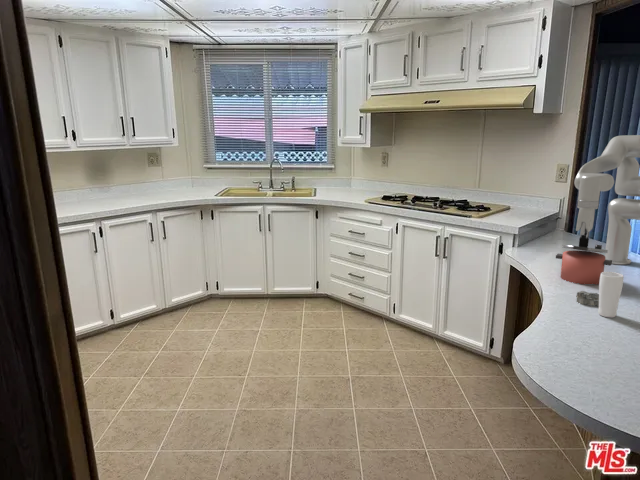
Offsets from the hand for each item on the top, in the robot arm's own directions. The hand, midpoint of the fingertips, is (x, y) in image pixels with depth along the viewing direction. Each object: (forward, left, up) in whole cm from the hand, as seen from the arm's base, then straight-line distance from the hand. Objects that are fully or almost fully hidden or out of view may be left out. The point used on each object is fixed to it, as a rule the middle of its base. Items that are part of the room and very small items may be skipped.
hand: (583, 246), depth 186 cm
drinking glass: (+37, +15, -15) cm, 43 cm away
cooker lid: (-2, 0, -2) cm, 3 cm away
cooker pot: (-3, 0, -15) cm, 16 cm away
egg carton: (+27, +9, -16) cm, 32 cm away
